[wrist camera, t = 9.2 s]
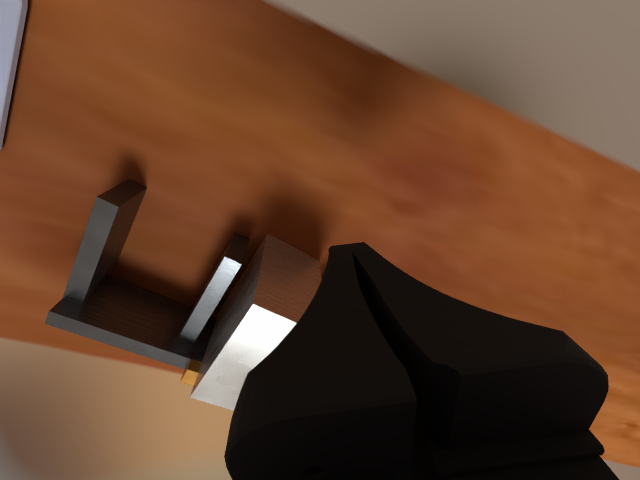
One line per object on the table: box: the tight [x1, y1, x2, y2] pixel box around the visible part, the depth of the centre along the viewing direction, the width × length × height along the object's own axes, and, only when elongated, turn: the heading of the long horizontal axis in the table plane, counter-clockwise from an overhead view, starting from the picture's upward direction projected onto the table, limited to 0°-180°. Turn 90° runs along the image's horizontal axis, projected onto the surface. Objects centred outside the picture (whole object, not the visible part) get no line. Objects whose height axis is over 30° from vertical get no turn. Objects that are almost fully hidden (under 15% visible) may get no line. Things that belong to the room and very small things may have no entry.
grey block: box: [190, 234, 322, 411], centre depth 18 cm, size 4×7×7 cm, turn 147°
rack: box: [45, 180, 323, 386], centre depth 19 cm, size 20×8×5 cm, turn 57°
